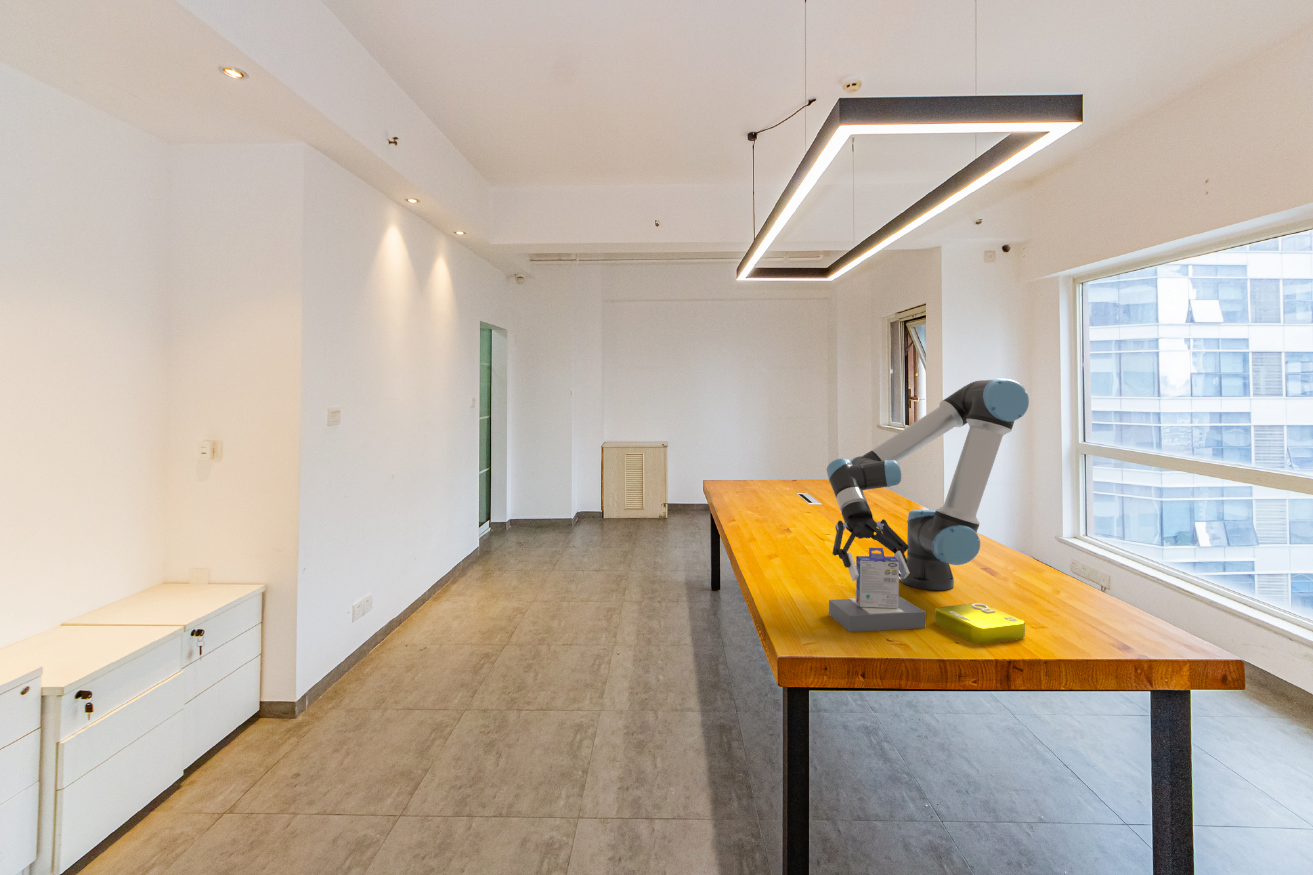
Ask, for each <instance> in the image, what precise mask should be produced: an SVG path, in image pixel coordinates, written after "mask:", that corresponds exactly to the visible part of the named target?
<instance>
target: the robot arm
mask: <svg viewBox="0 0 1313 875" xmlns="http://www.w3.org/2000/svg"><path fill="white" fill-rule="evenodd" d="M1029 404H1030V398H1029V394H1028V392H1027V391H1026V388H1025V387H1024V385H1022V383H1019V382H1018V381H1016V380H1013V379H1009V378H1001V377H1000V378H998V377H997V378H994V379H985V380H984V379H983V380H975V381H972V382H970V383H968V384H966V385H964V386H963V387H961V388H959V389H958V390H956V391H955V392H954V393H952V394H951V395H949V396H947V397H946V398H945V399H943V400H941V401H940V402H939V406H938V407H937V408H935V409H934V410H932V411H931V412H929V413H927V414H925V415H924V416H923V417H921V418H920V419H918V420H916V421H915V422H913V423H912V424H910V425H909V426H907V427H906V428H905V427H904V429H903V430H901V431H899V432H898V433H896V434H895V435H893V436H892V437H890V438H888V439H887V440H886V441H884V442H882V443H881V444H879V445H878V446H876V447H874V448H873V449H871V450H870V451H868V452H867V453H865V454H863V455H861V456H860V455H859V456H856V457H853V458H852V459H851V460H849V459H848V458H843V457H841V458H836V459H834V460H832V461H831V462H830V463H828V465H827V467H826V473H827V477H828V481H829V482H828V483H830V485H831V488H832V491H833V494H834V496H835V498H836V502H837V505H838V507H839V510H840V511H841V515H842V518H843V521H844V522H843V521H842V520H838V521H837V523H836V525H835V532H836V534H835V538H834V539H835V540H834V542H833V543H834V544H833V549H832V555H833V556H838V558H839V560H841V561H842V564H843V565H844V568H847V569H848V573H849V575H850V578H851V581H855V582H856V579H857V577H858V576H859V574H858V571H857V568H856V564H855V563H856V562H855V560H854V558H853V554H852V552H848V551H849V549H850V548H851V545H852V544H853V542H854V540H855V539H856V538H857V539H859V540H860V539H872V540H874V541H877V542H878V543H879V544H881V545H882V546H883V547H885V548H886V549H888V550H889V551H890V552H892V553H894V555H893V557H895V558H896V559H897V560H898V561H899V574H900V582H901V583H903V584H904V585H906V586H909V587H911V588H916V589H921V590H930V591H945V590H946V591H947V590H951V589H953V588H954V586H955V579H954V575H953V573H952V569H951V565H952V566H963V565H965V564H967V563H970V562H972V561H973V560H974V559H975V558H976V557H977V556H978V554H979V552H980V550H981V539H980V537H979V535H978V531H979V530H978V529H979V527H980V524H981V523H980V521H979V520H978V518H977V513H978V510H979V508H980V504H981V501H982V500H983V499H982V498H983V496H984V492H985V489H986V486H987V484H988V481H989V478H990V475H991V472H992V469H993V466H994V463H995V461H996V457H997V454H998V452H999V448H1000V446H1001V443H1002V440H1003V437H1004V435H1007V434H1009V433H1010V432H1012V429H1013V428H1014V427H1013V426H1014V425H1015V421H1017V420H1019V419H1021V418H1022V417H1023V416H1024V415H1025V414H1026V412H1027V411H1028V408H1029V406H1030V405H1029ZM967 424H968V426H969V429H968V432H967V435H966V437H965V441H964V443H963V447H962V450H961V453H960V456H959V459H958V462H957V463H956V464H957V465H956V468H955V470H954V473H953V477H952V479H951V481H950V486H949V488H948V492H947V495H946V497H945V500H944V503H943V506H941V507H938V508H936V509H935V510H934V509H912V510H910V511H909V512H908V514H907V515H908V516H907V521H906V522H907V533H906V534H907V541H904V540H903V538H901V537H900V535H898V533H896V531H894V530H893V529H892V528H891V527H890V526H889V524H888V522H887V521H886V519H885V518H882V519H881V521H875V519H874V518H873V513H872V511H871V507H870V505H869V504H868V501H867V498H866V496H865V493H864V491H868V490H873V489H874V490H875V489H882V488H889V487H894V486H898V485H899V484H900V483H901V481H902V471H901V467H900V465H899V463H900V462H902V461H903V460H905V459H906V458H908V457H909V456H911V455H913V454H915V453H916V452H918V451H919V450H921V449H922V448H924V447H925V446H926V445H928V444H930V443H931V442H933V441H935V440H937V439H938V438H940V437H941V436H943V435H944V434H946V433H948V432H949V431H951V430H952V429H954V428H955V427H956V428H961V427H963V426H965V425H967ZM845 529H846V530H847V531H848V532H849V533H850V535H849V537H848V539H847V541H845V542H846V543H845V544H844V546H843V548H841V545H842V541H843V536H844V531H845ZM905 553H906V555H905Z"/></svg>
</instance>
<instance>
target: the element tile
mask: <svg viewBox="0 0 1313 875" xmlns="http://www.w3.org/2000/svg"><path fill="white" fill-rule="evenodd" d="M934 624H935V625H936V626H938V627H940V628H941V629H944V630H946V631H948V632H950V633H952V634H954V635H955V636H958V637H959V638H962V639H963V640H966V641H968V642H970V643H973V644H975V645H976V644H977V645H989V644H997V643H1004V641H1006V642H1011V641H1012V640H1013V641H1017V640H1016V639H1021V640H1024V639H1025V638H1026V637H1025V634H1026V633H1025V632H1026V622H1025V621H1024V620H1023V619H1022V618H1021V619H1020V618H1018V617H1015V616H1013V615H1011V614H1008V613H1006V612H1003V611H1001V610H998V609H997V608H994V607H990V606H989V605H986V604H983V603H981V602H974V603H965V604H964V603H963V604H955V605H947V606H938V607H935V609H934ZM1024 637H1025V638H1024ZM1023 638H1024V639H1023Z"/></svg>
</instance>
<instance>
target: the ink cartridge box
mask: <svg viewBox="0 0 1313 875" xmlns="http://www.w3.org/2000/svg"><path fill="white" fill-rule="evenodd" d="M874 551H878V552H880V553H876V552H875V553H874ZM868 554H869V555H856V556H855V558H856V559H855V560H856V561H855V563H856V564H855V566H856V568H857V571H858V574H859V576H858V577H857V579H856V580H855V583H856V585H855V586H856V589H855V590H856V594H855V598H856V602H857V604H858V606H859V607H880V608H898V597H899V591H900V590H899V589H900V588H899V587H900V584H899V581H900V580H899V579H900V571H899V561H898V560H897V559H896V558H895V557H894V555H893V556H889V555H885V552H884V548H883V547H868Z"/></svg>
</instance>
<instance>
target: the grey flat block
mask: <svg viewBox="0 0 1313 875" xmlns="http://www.w3.org/2000/svg"><path fill="white" fill-rule="evenodd" d="M926 613H927V612H926V611H925V610H923V609H921V608H919V606H916V605H914V604H913V603H911V602H910V601H908V600H907V599H904V598H903V597H902V596H898V608H880V607H859V606H858V604H857V602H856V597H855V598H839V599H837V598H836V599H829V600H828V616H830V617H831V618H832V619H833V620H834V621H836V622H837V623H838V624H839V625H841V627H843V628H844V629H846V630H847V631H848V632H849V633H854V632H855V633H857V632H873V631H876V632H877V631H890V630H891V631H893V630H906V629H907V630H909V629H912V630H913V629H925V628H926V624H927V623H926V620H927V619H926V618H927V617H926V616H927V614H926Z"/></svg>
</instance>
